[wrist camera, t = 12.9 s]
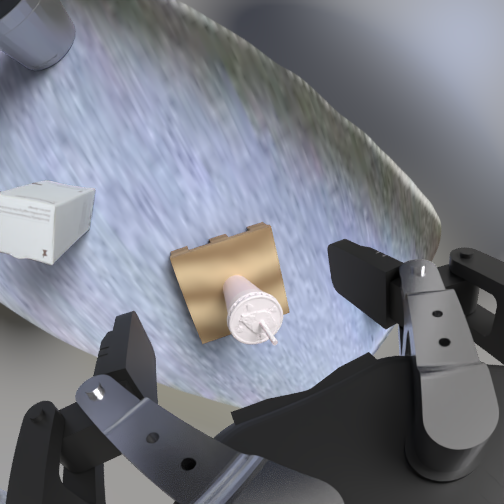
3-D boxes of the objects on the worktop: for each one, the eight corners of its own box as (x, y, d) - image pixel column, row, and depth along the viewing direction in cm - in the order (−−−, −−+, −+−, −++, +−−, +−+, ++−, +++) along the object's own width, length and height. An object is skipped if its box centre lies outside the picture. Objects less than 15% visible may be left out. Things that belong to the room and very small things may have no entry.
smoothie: (248, 312, 43) (285, 370, 30) (207, 302, 41) (229, 363, 28) (264, 272, 42) (309, 319, 29) (221, 260, 40) (252, 307, 27)
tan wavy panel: (169, 252, 40) (170, 258, 38) (263, 221, 43) (270, 226, 40) (199, 333, 45) (202, 343, 42) (282, 304, 48) (289, 312, 45)
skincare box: (96, 188, 35) (61, 202, 21) (90, 231, 36) (55, 268, 23) (43, 179, 32) (-11, 190, 19) (38, 222, 33) (-14, 252, 20)
